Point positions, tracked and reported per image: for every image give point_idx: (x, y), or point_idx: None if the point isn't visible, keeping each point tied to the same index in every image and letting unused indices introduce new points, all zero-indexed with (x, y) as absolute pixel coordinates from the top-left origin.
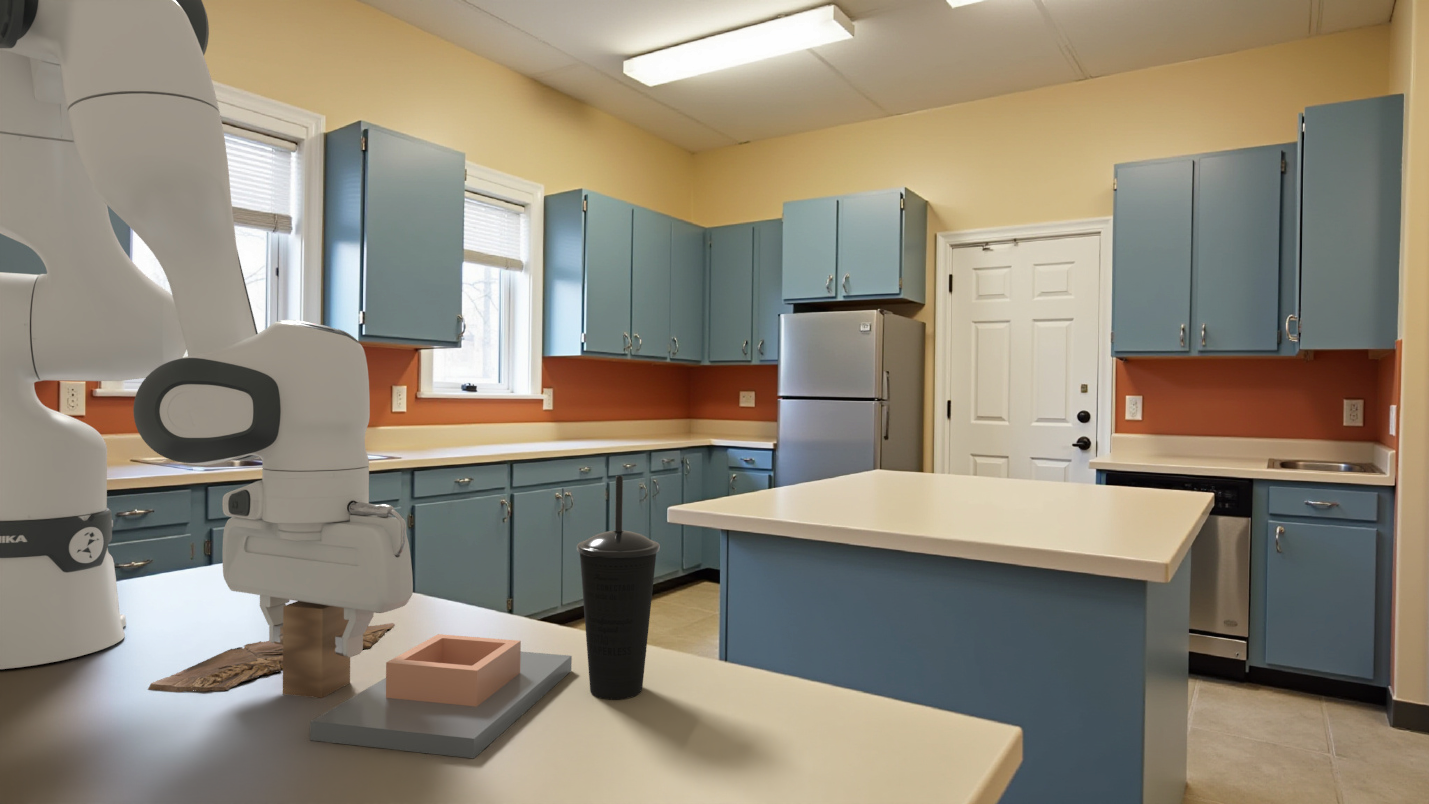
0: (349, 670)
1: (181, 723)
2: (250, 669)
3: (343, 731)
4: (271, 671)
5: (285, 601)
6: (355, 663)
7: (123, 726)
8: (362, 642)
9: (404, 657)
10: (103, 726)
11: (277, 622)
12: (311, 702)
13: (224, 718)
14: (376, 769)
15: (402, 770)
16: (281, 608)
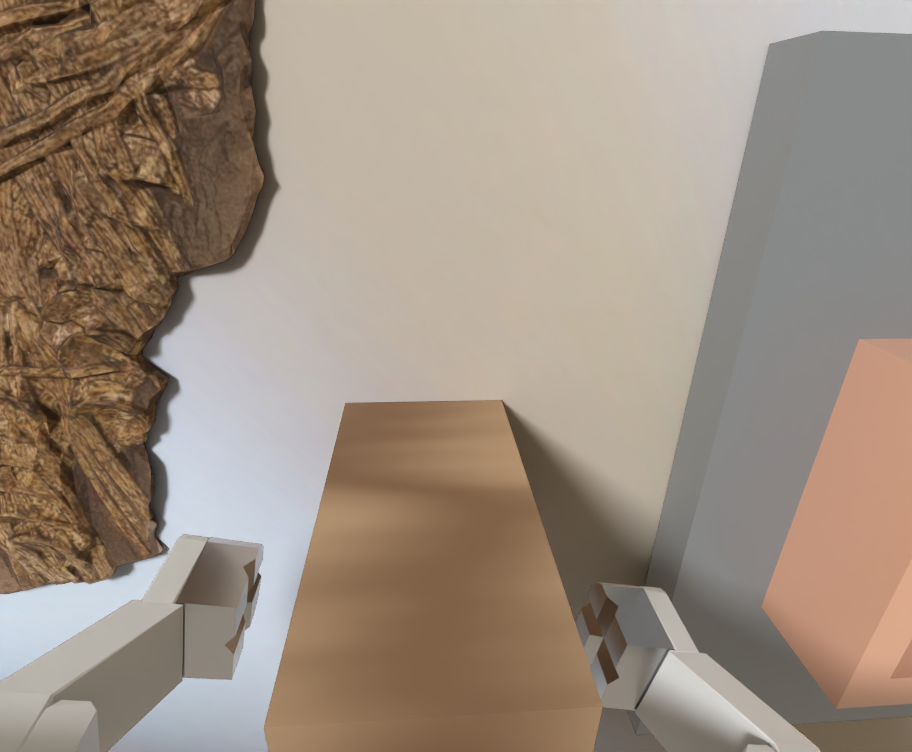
0: (508, 425)
1: (269, 703)
2: (56, 419)
3: None
4: (149, 407)
5: (94, 739)
6: (382, 200)
7: (158, 739)
8: (677, 616)
9: (887, 662)
10: (114, 749)
11: (174, 674)
12: None
13: None
14: (801, 730)
15: (848, 723)
16: (95, 694)
